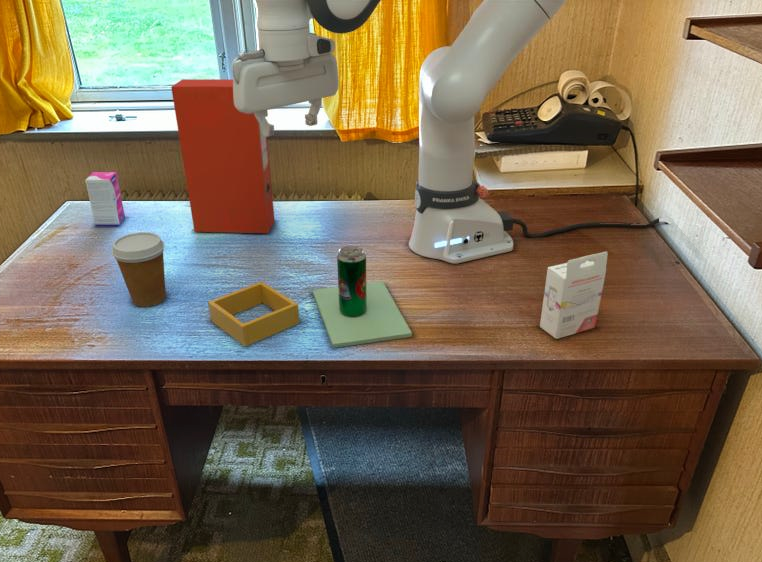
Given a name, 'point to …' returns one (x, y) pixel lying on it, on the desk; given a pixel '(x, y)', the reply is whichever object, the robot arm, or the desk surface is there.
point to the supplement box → (105, 199)
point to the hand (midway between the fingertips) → (290, 130)
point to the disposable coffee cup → (142, 267)
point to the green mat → (362, 317)
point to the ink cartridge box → (573, 295)
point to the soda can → (352, 281)
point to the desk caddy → (259, 327)
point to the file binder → (223, 159)
